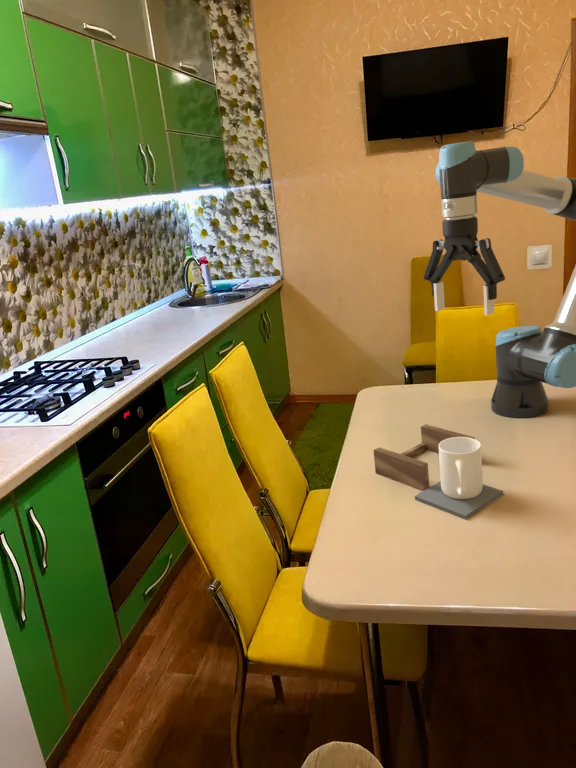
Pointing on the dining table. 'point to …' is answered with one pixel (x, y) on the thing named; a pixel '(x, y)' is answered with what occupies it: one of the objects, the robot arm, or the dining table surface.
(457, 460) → the mug
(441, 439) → the frame
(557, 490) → the dining table surface
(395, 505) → the dining table surface
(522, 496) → the dining table surface
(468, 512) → the coaster
